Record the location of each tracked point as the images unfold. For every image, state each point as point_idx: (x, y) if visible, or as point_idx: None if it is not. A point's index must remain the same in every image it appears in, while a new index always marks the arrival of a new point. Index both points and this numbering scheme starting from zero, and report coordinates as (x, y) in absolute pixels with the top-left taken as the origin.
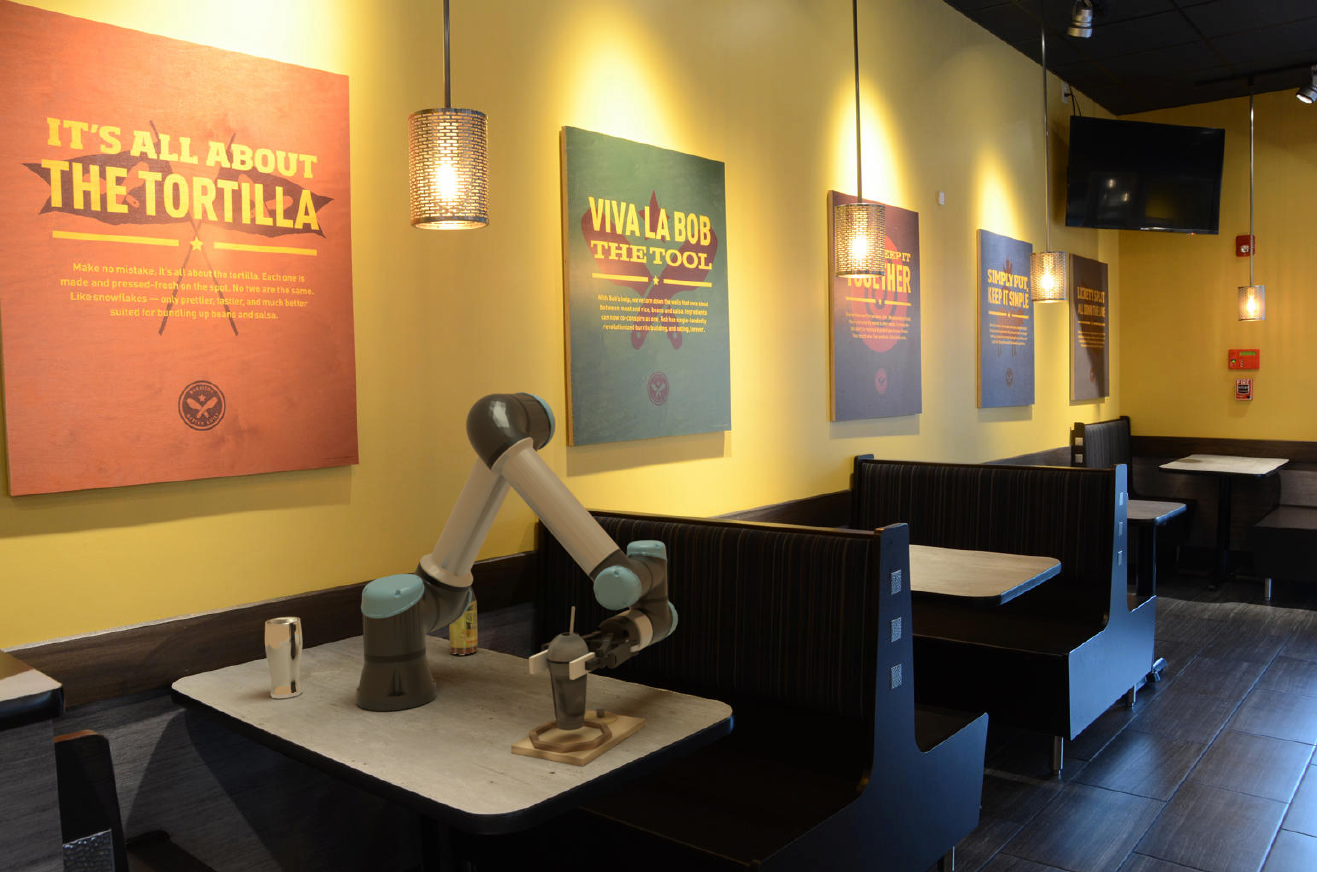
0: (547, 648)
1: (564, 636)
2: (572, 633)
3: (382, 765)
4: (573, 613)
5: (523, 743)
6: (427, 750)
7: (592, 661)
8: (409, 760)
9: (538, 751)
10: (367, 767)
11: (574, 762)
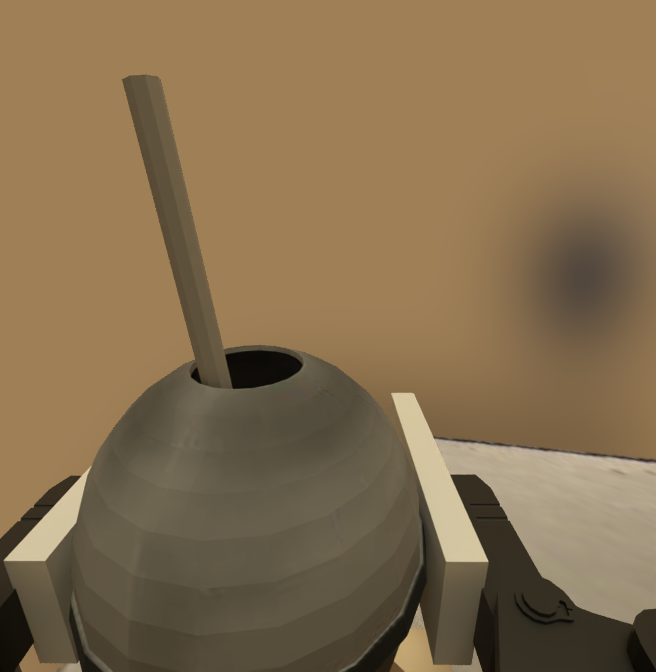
0: (632, 664)
1: (247, 346)
2: (199, 366)
3: (584, 476)
4: (154, 166)
5: (420, 663)
6: (629, 560)
7: (48, 492)
8: (579, 507)
9: None
10: (591, 464)
11: None
